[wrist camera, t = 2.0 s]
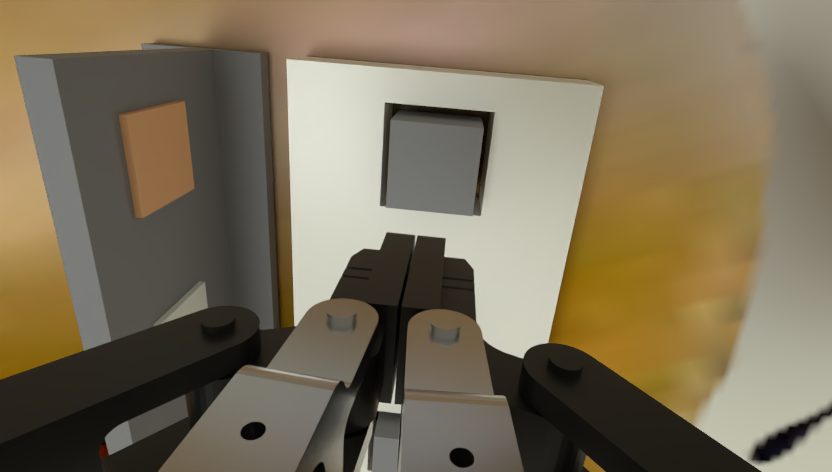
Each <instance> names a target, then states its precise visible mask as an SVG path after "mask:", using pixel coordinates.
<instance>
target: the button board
mask: <svg viewBox="0 0 832 472" xmlns="http://www.w3.org/2000/svg"><path fill="white" fill-rule="evenodd" d="M603 90H604V86H603V85H600V84H597V83H594V82H591V81H589V80H580V79H569V78H557V77H545V76H533V75H521V74H509V73H498V72H486V71H474V70H462V69H450V68H438V67H427V66H415V65H403V64H391V63H379V62H368V61H356V60H344V59H332V58H320V57H308V56H305V57H298V58H291V59H287V91H288V125H289V159H290V193H291V227H292V261H293V295H294V326H297V325H298V323H299V322H300V320H301V319H302V318H303V316H304V315H305V313H306V312H307V311H308V310H309V309H310V308H311V307H312V306H314V305H316V304H317V303H320V302H322V301H326V300H330V298H331V296H332V294H333V292H334V290H335V288H336V286H337V284H338V282H339V280H340V278H341V277H342V274H343V272H344V270H345V268H346V266H347V264H348V262H349V260H350V258H351V256H353V255H354V254H356V253H358V252H359V251H361V250H362V249H364V248H365V249H374V250H380V248H381V246H382V243H383V240H384V238H385V235H386V233H387V232H391V233H400V234H410V235H415V244H416V240H417V236H418V235H420V236H430V237H439V238H446V242H445V254H444V257H451V258H460V259H465V260H466V261H467V262H468V263H469V264H470V266H471V267H472V268H473V269H474V286H475V291H474V292H475V307H476V323H477V324H478V325H479V327H480V328H481V331H482V336H483V339H484V340H485V341H486V342H487V343H488V344H490V345H491V346H493V347H494V348H496V349H498V350H500V351H502V352H505V353H508V354H510V355H514V356H517V357H520V358H524V354H525V353H526V351H527V350H528V349H530V348H531V347H533V346H536V345H539V344H545V343H548V341H549V336H550V331H551V327H552V322H553V318H554V313H555V309H556V304H557V300H558V295H559V290H560V286H561V281H562V277H563V272H564V268H565V263H566V258H567V254H568V249H569V245H570V240H571V236H572V231H573V226H574V222H575V217H576V213H577V208H578V204H579V199H580V195H581V190H582V185H583V181H584V176H585V172H586V167H587V163H588V158H589V153H590V149H591V144H592V140H593V135H594V131H595V126H596V121H597V117H598V112H599V108H600V103H601V99H602V94H603ZM393 103H397V104H408V105H420V106H431V107H442V108H453V109H465V110H476V111H487V112H490V116H489V124H488V131H487V139H486V146H485V154H484V161H483V169H482V177H481V184H480V192H479V197H475V201H474V209H473V216H465V215H455V214H445V213H435V212H425V211H415V210H405V209H395V208H386V197H387V178H388V159H389V140H390V122H391V119H392V109H393ZM395 388H396V380H395V385H394V391H393V396H392V401H391V404H389V403H381V402H379V405H378V409H377V411H383V412H391V413H400V414H401V405H399V404H394V402H395ZM375 424H376V416H375V418H374V420H373V432H372V436H371V439H370V442H369V445H368V448H367V451H366V454H365V458H364V461H363V464H362V467H361V470H360V472H372V462H373V443H374V433H375Z"/></svg>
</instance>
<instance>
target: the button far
mask: <svg viewBox="0 0 832 472" xmlns="http://www.w3.org/2000/svg"><path fill="white" fill-rule="evenodd" d="M400 416H401V414H400V413H391V412H383V411H379V415H378V419H377V424H376V429H375V433H374V443H373V462H372V472H397V456H398V440H399V427H400Z"/></svg>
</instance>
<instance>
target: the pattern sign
mask: <svg viewBox="0 0 832 472" xmlns="http://www.w3.org/2000/svg"><path fill="white" fill-rule="evenodd" d="M141 46H142V50H127V51H106V52H84V53H62V54H41V55H19V56H14V59H15V63H16V67H17V71H18V75H19V80H20V84H21V88H22V92H23V96H24V101H25V105H26V109H27V113H28V117H29V122H30V126H31V130H32V134H33V138H34V143H35V147H36V151H37V155H38V159H39V164H40V168H41V172H42V176H43V180H44V185H45V189H46V193H47V197H48V201H49V206H50V210H51V214H52V218H53V222H54V227H55V231H56V235H57V239H58V243H59V248H60V252H61V256H62V260H63V264H64V268H65V273H66V277H67V281H68V285H69V289H70V294H71V298H72V302H73V306H74V310H75V315H76V319H77V323H78V327H79V331H80V336H81V340H82V344H83V348H84V351H85V350H88V349H91V348H93V347H96V346H99V345H102V344H105V343H108V342H111V341H114V340H116V339H119V338H122V337H125V336H128V335H131V334H134V333H137V332H139V331H142V330H145V329H148V328H151V327H154V326H157V325H160V324H163V323H165V322H168V321H171V320H174V319H177V318H180V317H183V316H186V315H188V314H191V313H194V312H197V311H200V310H203V309H206V308H211V307H216V306H239V307H243V308H247V309H249V310H251V311H253V312H254V313H255V314H256V315H257V316H258V318H259V321H260V330H265V329H277V328H280V325H279V302H278V279H277V256H276V233H275V210H274V187H273V165H272V142H271V119H270V96H269V73H268V53H261V52H249V51H237V50H226V49H214V48H202V47H190V46H178V45H167V44H155V43H148V44H141ZM186 417H188V412H187V405H186V398H185V395H183V396H181V397H179V398H176V399H174V400H172V401H170V402H168V403H165V404H163V405H161V406H159V407H157V408H155V409H152V410H150V411H148V412H146V413H144V414H142V415H139V416H137V417H135V418H133V419H131V420H128V421H126V422H124V423H122V424H120V425H118V426H117V427H115V428H114V429H113V430H112V431H110V432H109V433H108V434H107V436H106V437H105V441H106V445H107V449H108V453H109V455H111V454H113V453H115V452H117V451H119V450H121V449H123V448H125V447H127V446H129V445H131V444H133V443H135V442H137V441H140V440H142V439H144V438H146V437H148V436H150V435H152V434H154V433H156V432H158V431H160V430H162V429H164V428H166V427H168V426H170V425H172V424H174V423H176V422H178V421H180V420H182V419H184V418H186Z"/></svg>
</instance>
